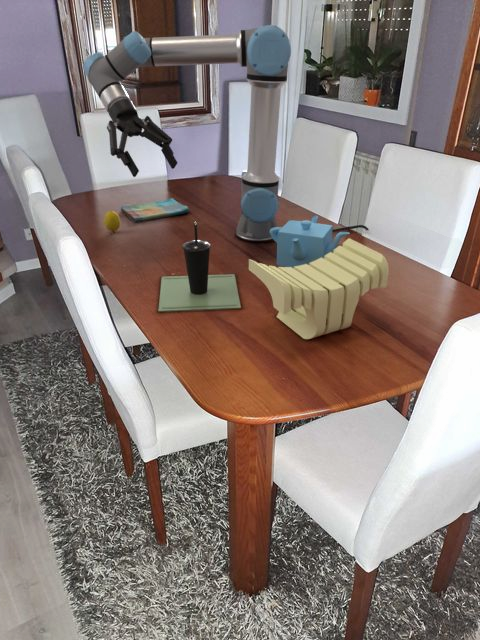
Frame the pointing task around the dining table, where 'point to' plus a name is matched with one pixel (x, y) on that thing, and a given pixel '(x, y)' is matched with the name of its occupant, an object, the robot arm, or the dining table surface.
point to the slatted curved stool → (323, 288)
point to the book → (154, 210)
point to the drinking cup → (197, 264)
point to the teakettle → (303, 242)
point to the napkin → (181, 299)
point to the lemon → (112, 221)
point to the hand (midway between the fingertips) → (156, 169)
